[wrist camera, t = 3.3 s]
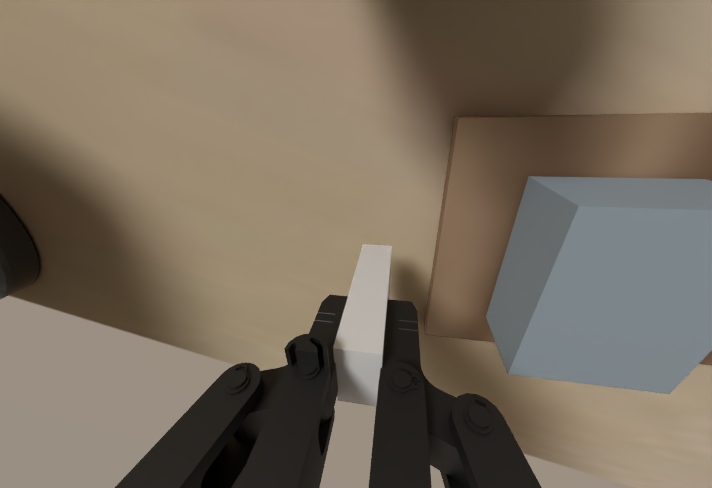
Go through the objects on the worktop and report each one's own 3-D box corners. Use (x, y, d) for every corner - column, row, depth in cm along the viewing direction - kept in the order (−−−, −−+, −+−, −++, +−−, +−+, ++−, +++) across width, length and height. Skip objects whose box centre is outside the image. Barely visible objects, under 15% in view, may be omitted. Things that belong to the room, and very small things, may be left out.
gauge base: (424, 324, 19) (430, 388, 15) (454, 117, 12) (482, 124, 8) (765, 358, 16) (898, 452, 12) (1053, 107, 9) (1607, 112, 5)
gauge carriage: (479, 336, 17) (498, 394, 14) (528, 176, 12) (578, 206, 9) (632, 352, 16) (696, 421, 12) (762, 180, 11) (932, 217, 7)
